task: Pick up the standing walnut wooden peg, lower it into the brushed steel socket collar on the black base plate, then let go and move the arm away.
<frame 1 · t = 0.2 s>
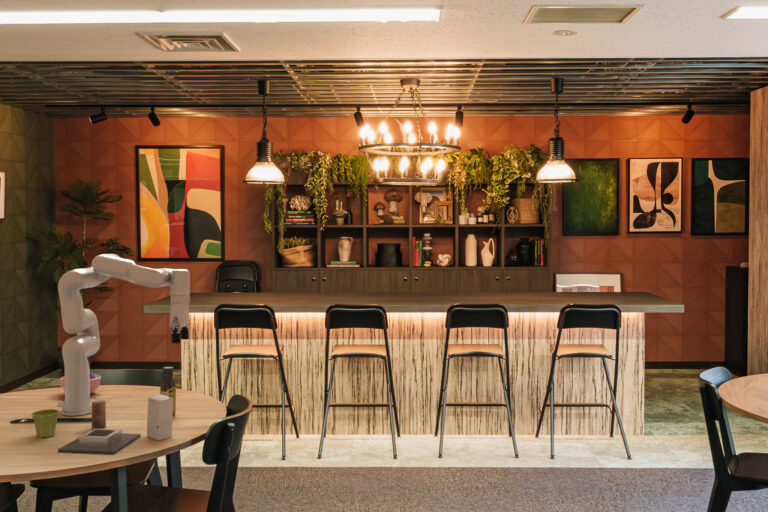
hand: (180, 341, 278), 31 cm above the table, tool pointing down, fingers open, 9 cm apart
sauce bottle: (167, 416, 280), on the table
skincare box: (160, 437, 251), on the table
cell model: (81, 395, 314), on the table
socket: (100, 444, 242), on the table
peg: (98, 427, 262), on the table
plant pot: (45, 436, 251), on the table
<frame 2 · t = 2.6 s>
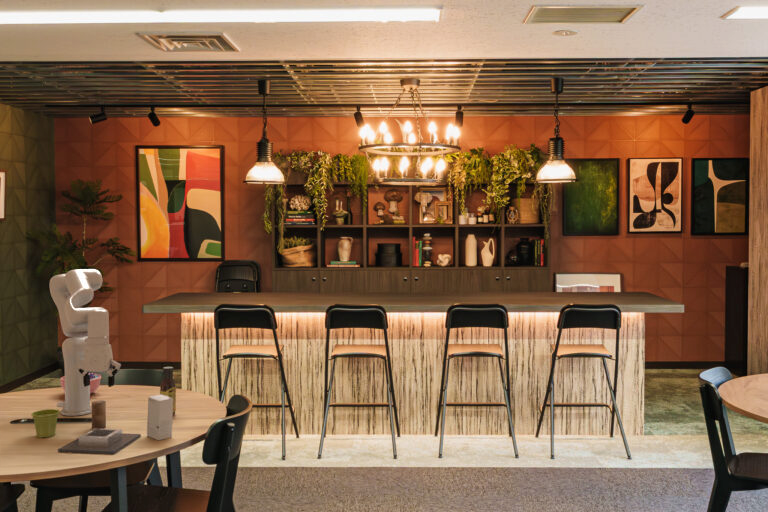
hand: (99, 386, 261), 16 cm above the table, tool pointing down, fingers open, 9 cm apart
nothing on the table moved.
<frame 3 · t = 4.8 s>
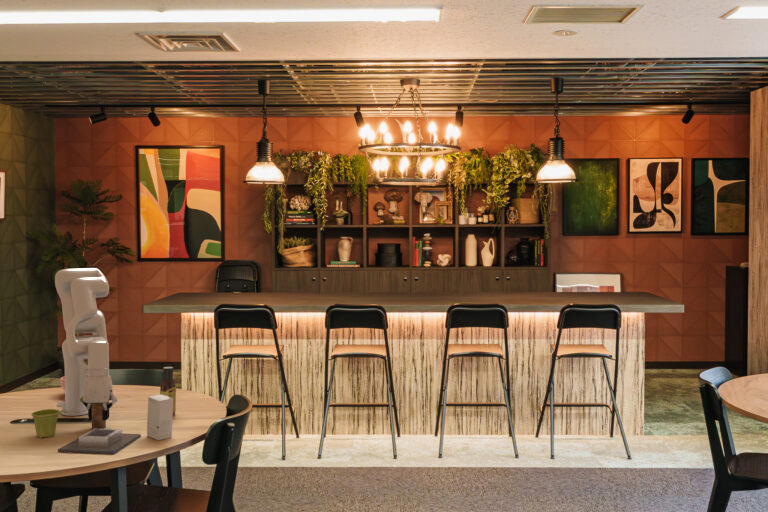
hand: (98, 418, 262), 3 cm above the table, tool pointing down, fingers closed on peg, 5 cm apart
peg: (98, 427, 262), on the table, touching gripper
everything else where it was.
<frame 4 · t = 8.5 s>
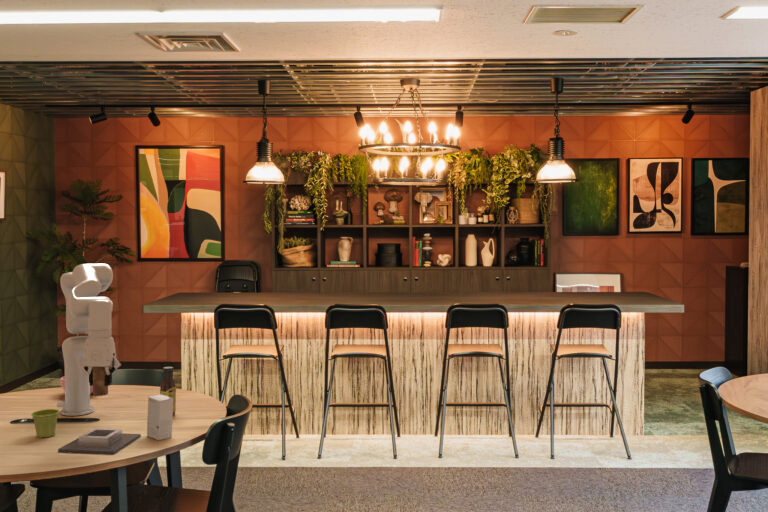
hand: (100, 384, 241), 21 cm above the table, tool pointing down, fingers closed on peg, 5 cm apart
peg: (100, 394, 241), point 18 cm above the table, touching gripper
everything else where it was.
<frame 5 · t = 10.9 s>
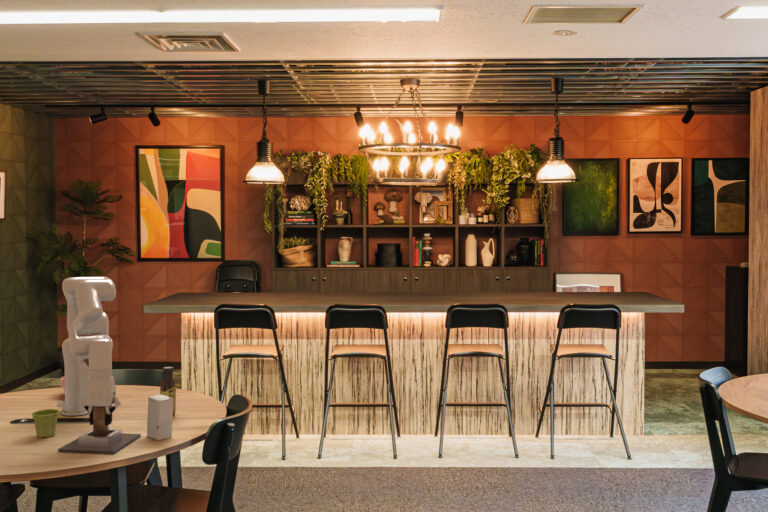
hand: (100, 423, 241), 7 cm above the table, tool pointing down, fingers closed on peg, 5 cm apart
peg: (100, 433, 241), point 4 cm above the table, touching gripper
everything else where it was.
when the fingers open (5 cm above the table, at t = 12.5 s): peg stays where it is, resting on socket.
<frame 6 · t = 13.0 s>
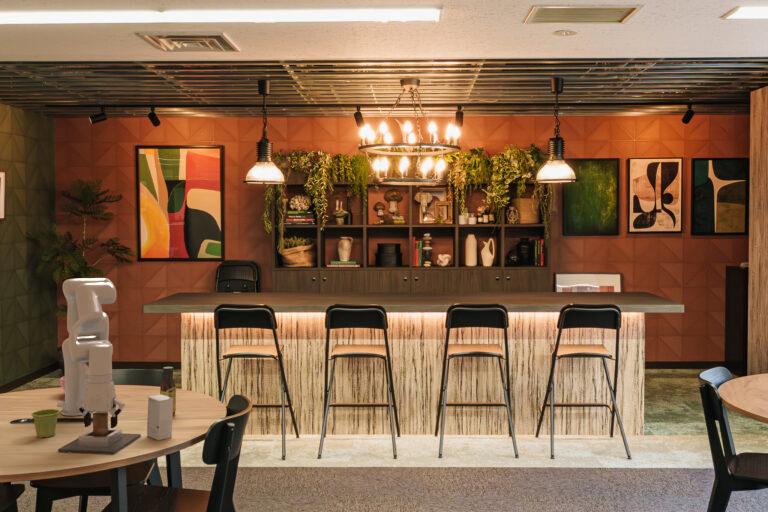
hand: (100, 426, 242), 6 cm above the table, tool pointing down, fingers open, 9 cm apart
peg: (100, 441, 242), point 1 cm above the table, touching socket
everything else where it was.
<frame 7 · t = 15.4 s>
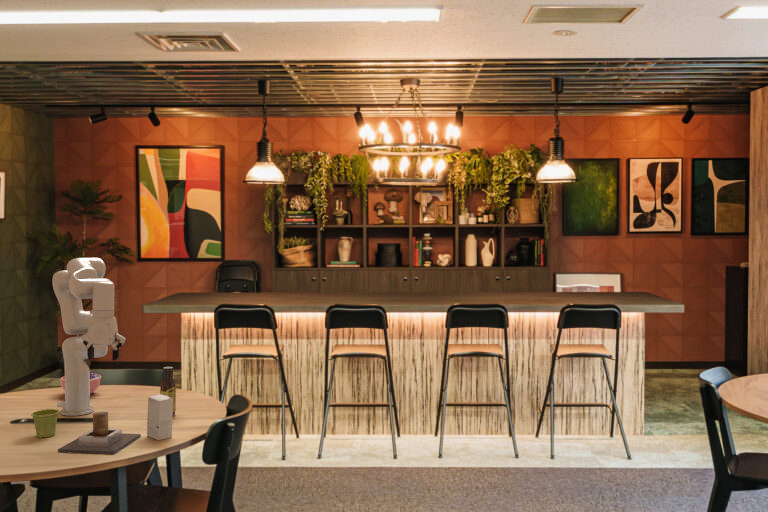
hand: (103, 359, 256), 27 cm above the table, tool pointing down, fingers open, 9 cm apart
nothing on the table moved.
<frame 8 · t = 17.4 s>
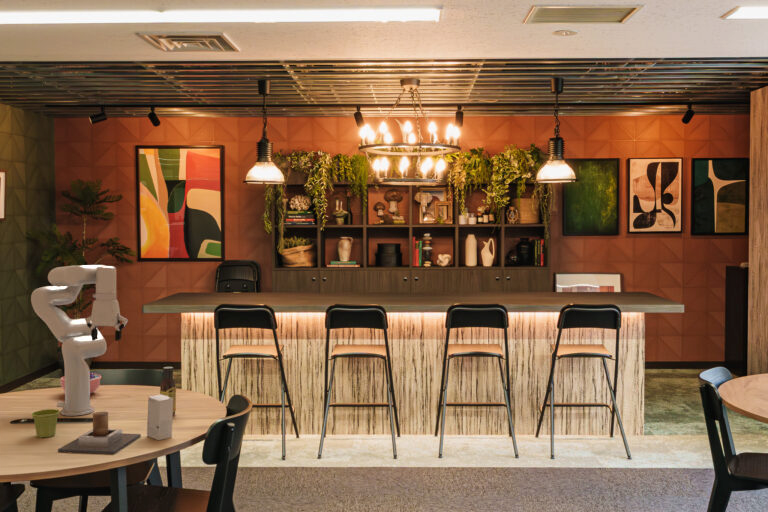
hand: (106, 340, 271), 32 cm above the table, tool pointing down, fingers open, 9 cm apart
nothing on the table moved.
at the end: peg 0.1 cm off-centre on the socket, point 1.0 cm above the socket's base; peg tilted 0°; the gripper is holding nothing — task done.
